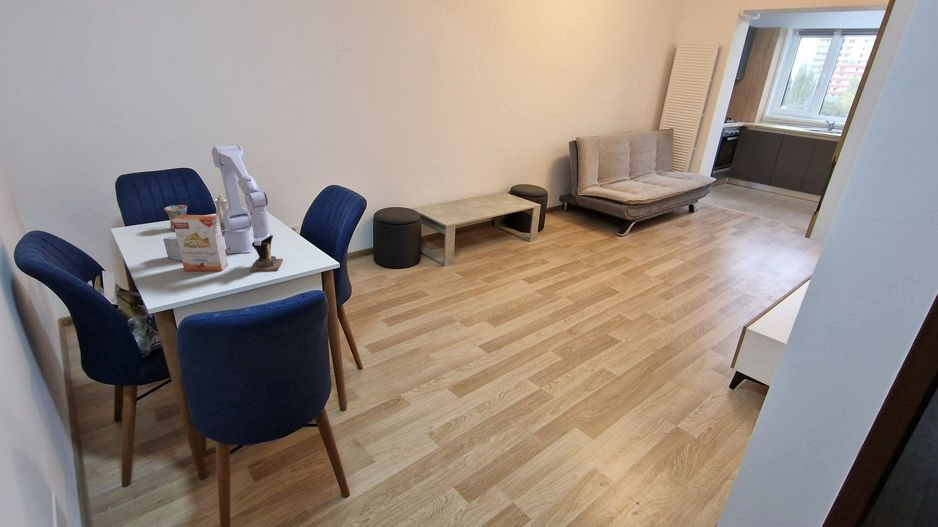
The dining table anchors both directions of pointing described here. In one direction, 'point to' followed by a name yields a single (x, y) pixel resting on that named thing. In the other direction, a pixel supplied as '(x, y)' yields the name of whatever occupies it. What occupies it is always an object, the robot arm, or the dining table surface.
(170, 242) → the medicine box
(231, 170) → the robot arm
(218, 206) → the chinaware
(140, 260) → the dining table surface
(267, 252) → the wick block
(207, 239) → the cracker box
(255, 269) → the clip stand
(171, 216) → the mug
